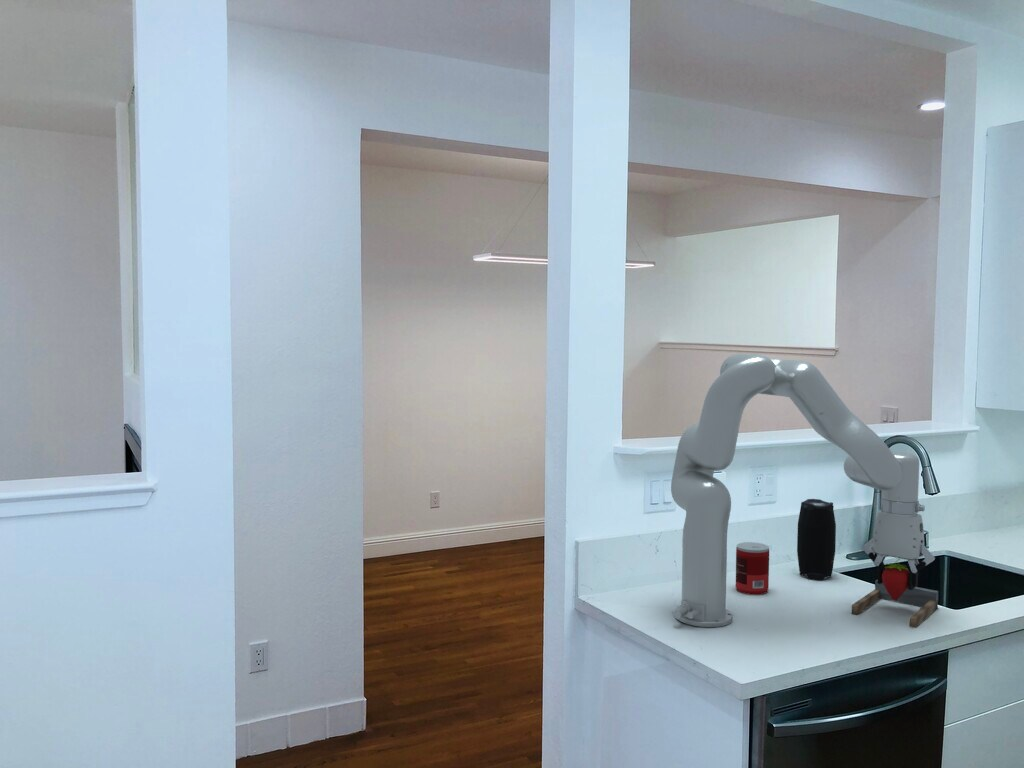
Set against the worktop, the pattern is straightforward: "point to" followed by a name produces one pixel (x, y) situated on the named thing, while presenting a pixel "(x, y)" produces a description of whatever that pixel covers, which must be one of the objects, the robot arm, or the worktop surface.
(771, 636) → the worktop surface
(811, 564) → the portable speaker
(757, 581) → the canned food
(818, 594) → the worktop surface
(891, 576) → the strawberry
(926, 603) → the frame
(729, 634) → the worktop surface
